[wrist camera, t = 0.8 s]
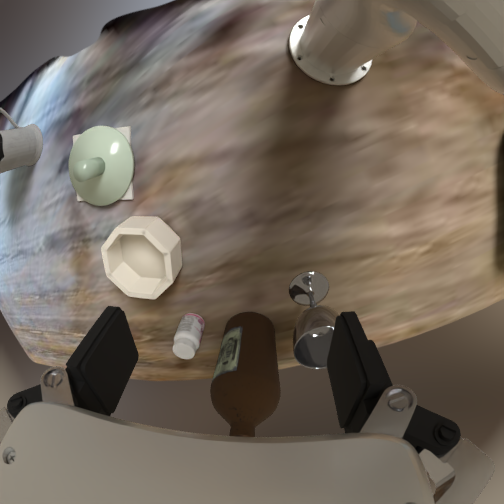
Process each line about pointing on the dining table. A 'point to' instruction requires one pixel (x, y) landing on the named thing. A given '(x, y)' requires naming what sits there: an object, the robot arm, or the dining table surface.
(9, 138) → the glass holder
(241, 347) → the olive oil
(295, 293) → the wine glass
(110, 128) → the lid
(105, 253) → the bowl
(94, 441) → the robot arm
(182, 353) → the pill bottle
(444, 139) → the dining table surface
